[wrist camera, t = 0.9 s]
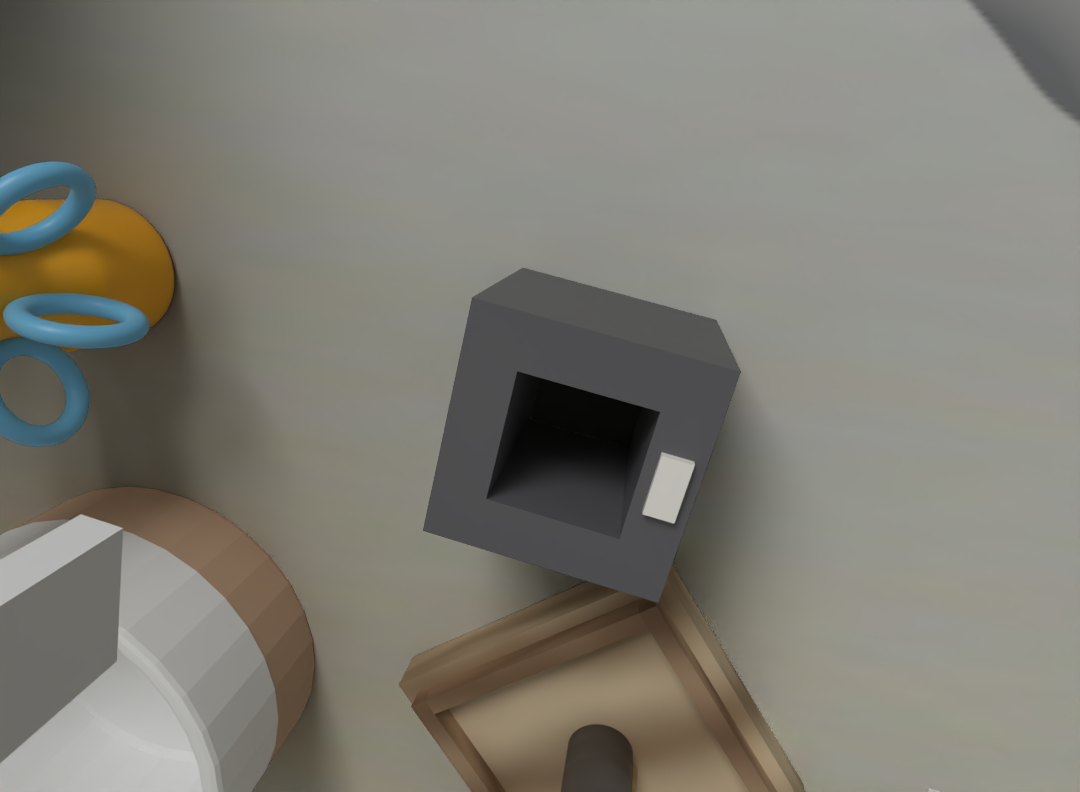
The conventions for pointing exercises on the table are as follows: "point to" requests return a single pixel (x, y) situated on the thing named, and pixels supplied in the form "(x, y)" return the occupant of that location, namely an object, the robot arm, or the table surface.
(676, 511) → the hollow dark grey cube
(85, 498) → the bowl
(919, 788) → the table surface
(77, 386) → the orange tube with rings
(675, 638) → the plate
